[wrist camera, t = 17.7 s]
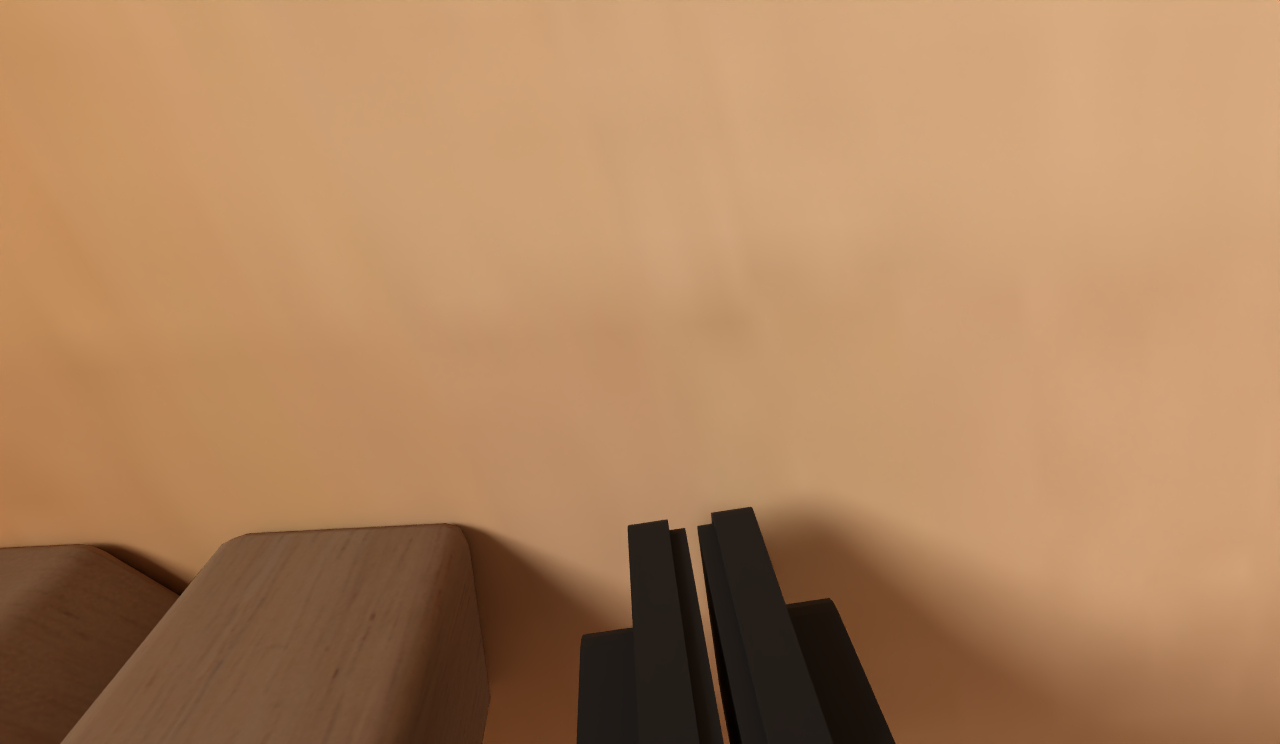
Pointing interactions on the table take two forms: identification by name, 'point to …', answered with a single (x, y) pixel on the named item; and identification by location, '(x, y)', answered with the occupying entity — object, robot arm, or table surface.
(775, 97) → the table surface
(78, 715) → the wooden blocks
